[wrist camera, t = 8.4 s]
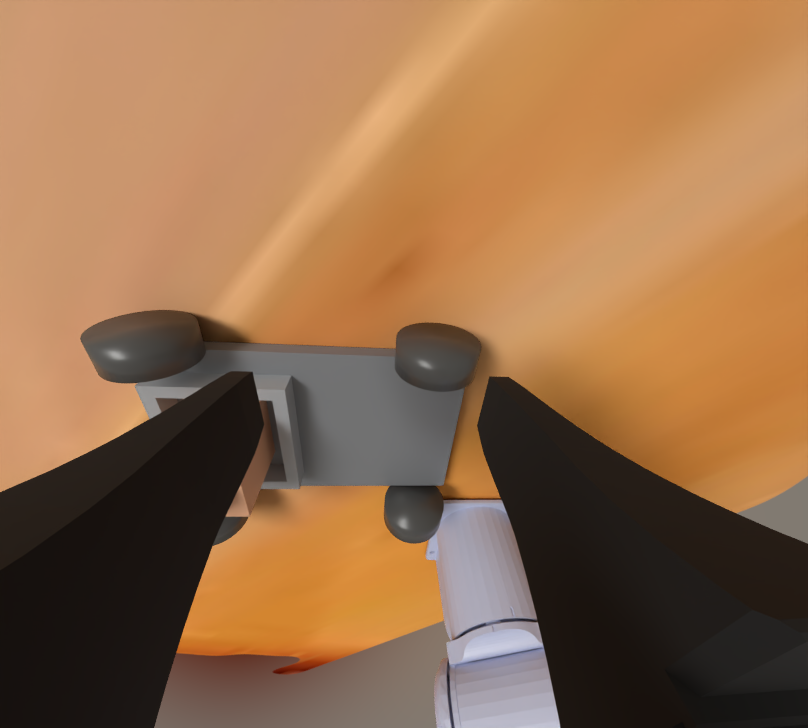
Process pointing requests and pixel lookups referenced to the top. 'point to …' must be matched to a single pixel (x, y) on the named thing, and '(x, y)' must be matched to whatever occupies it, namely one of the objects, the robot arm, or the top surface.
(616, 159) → the top surface
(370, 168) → the top surface
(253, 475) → the block
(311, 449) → the chassis
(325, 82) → the top surface
